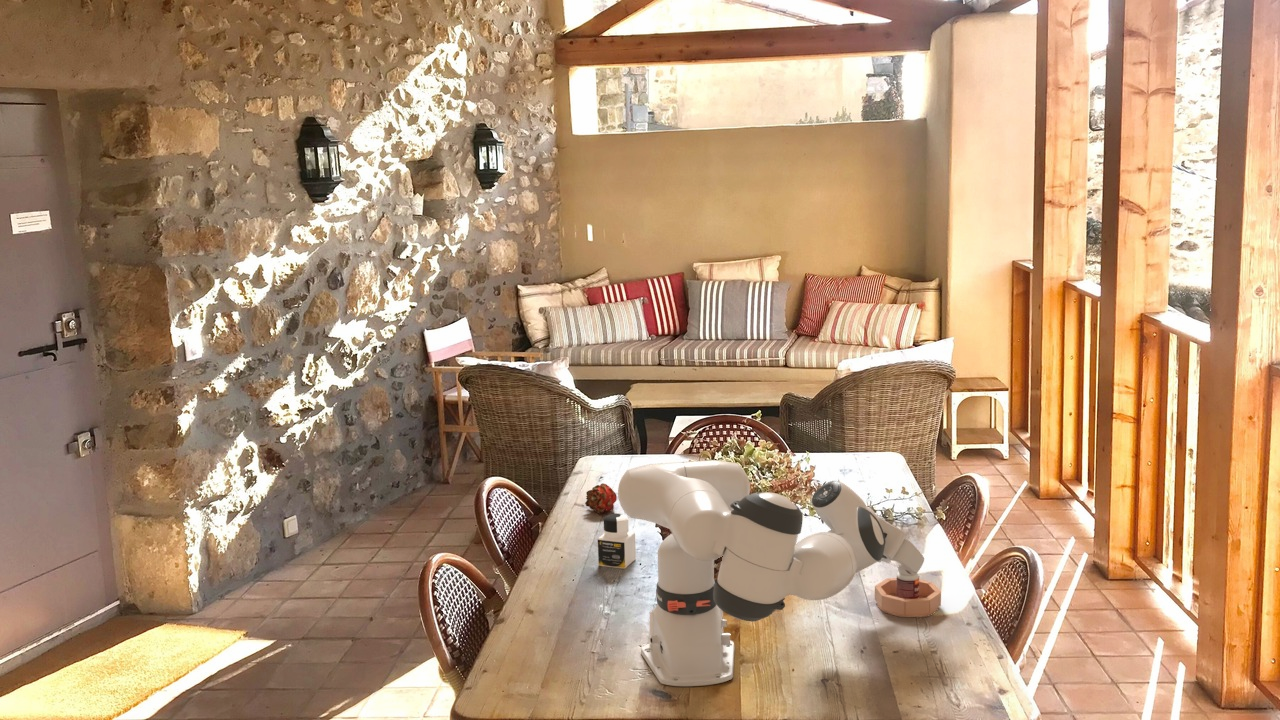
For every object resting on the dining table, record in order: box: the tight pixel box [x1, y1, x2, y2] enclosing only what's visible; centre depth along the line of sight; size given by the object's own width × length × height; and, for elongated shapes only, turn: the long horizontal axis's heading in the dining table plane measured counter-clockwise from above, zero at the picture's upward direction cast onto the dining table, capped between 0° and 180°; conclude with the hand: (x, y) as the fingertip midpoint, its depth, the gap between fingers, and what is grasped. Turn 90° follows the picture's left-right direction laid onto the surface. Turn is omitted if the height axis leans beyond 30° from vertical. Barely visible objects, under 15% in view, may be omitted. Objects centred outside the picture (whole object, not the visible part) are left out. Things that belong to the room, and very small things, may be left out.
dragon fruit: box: [584, 482, 618, 515], centre depth 309 cm, size 8×8×12 cm
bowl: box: [874, 577, 942, 618], centre depth 238 cm, size 13×13×4 cm
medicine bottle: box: [597, 513, 637, 570], centre depth 268 cm, size 7×7×12 cm
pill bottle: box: [896, 567, 920, 599], centre depth 238 cm, size 5×5×8 cm
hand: (896, 565), depth 235 cm, fingers open, 8 cm apart
